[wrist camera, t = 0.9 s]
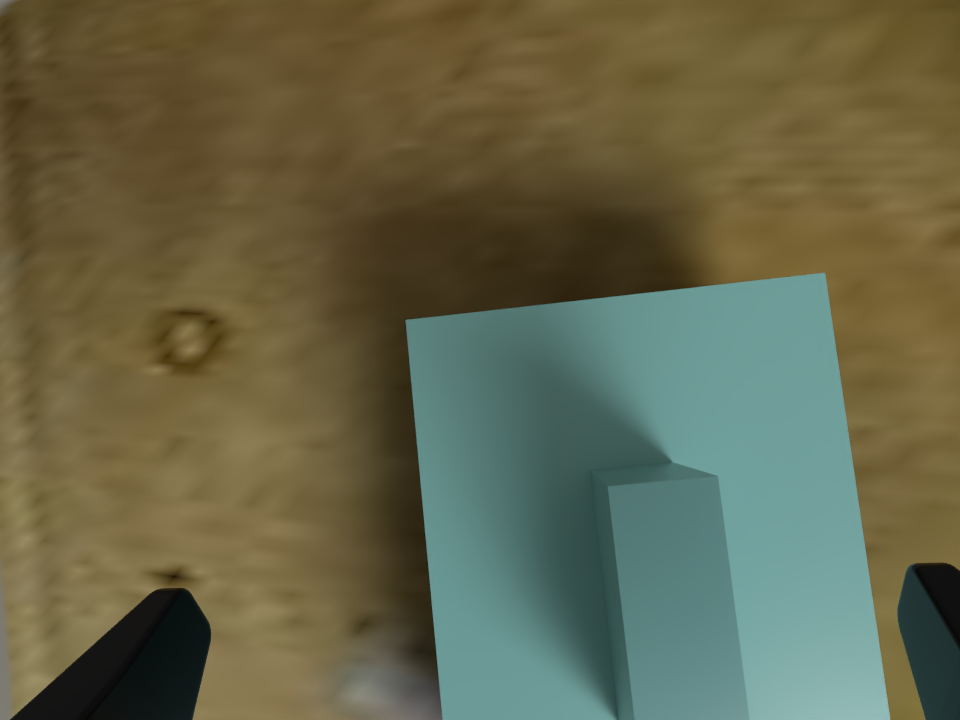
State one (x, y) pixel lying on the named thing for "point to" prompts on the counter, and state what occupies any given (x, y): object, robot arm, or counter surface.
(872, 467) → the counter surface
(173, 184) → the counter surface
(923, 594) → the robot arm
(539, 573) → the lid
